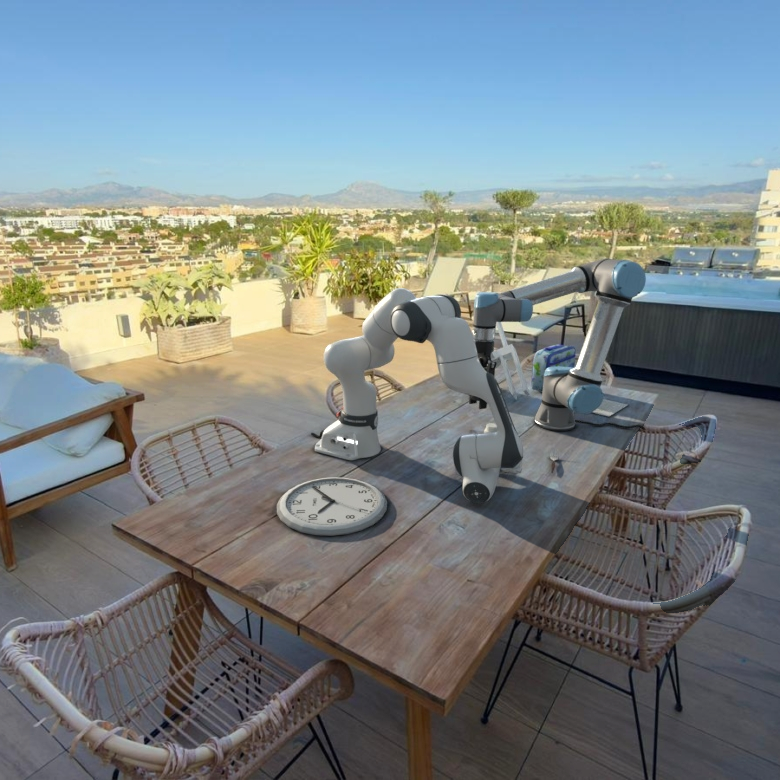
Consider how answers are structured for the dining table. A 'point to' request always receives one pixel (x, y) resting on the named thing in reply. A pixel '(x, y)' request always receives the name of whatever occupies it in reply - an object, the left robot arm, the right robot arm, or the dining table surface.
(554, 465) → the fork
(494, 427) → the jar
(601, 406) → the invitation card
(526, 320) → the right robot arm
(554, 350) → the lunch box
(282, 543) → the dining table surface
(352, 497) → the wall clock
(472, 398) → the lid
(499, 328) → the white plastic object
